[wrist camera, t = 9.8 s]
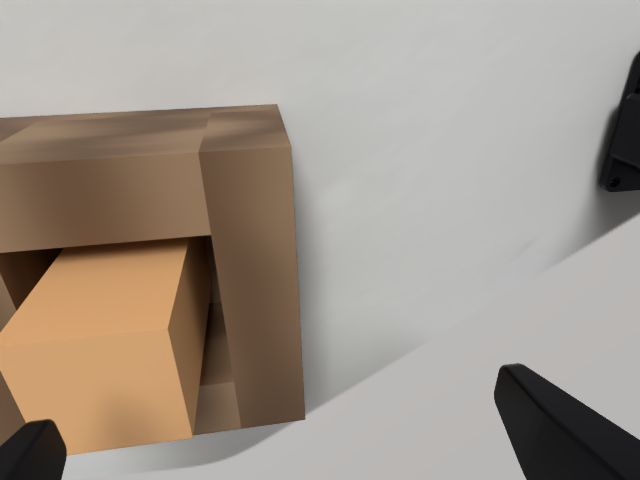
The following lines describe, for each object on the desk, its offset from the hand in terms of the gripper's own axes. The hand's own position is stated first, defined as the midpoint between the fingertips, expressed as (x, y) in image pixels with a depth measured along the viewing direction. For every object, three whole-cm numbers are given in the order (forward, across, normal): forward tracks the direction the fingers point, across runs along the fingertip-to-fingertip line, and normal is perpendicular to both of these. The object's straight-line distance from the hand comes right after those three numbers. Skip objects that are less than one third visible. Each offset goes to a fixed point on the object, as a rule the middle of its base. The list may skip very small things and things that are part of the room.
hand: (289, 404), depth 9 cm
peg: (+10, +5, +2) cm, 12 cm away
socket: (+11, +5, +2) cm, 13 cm away
